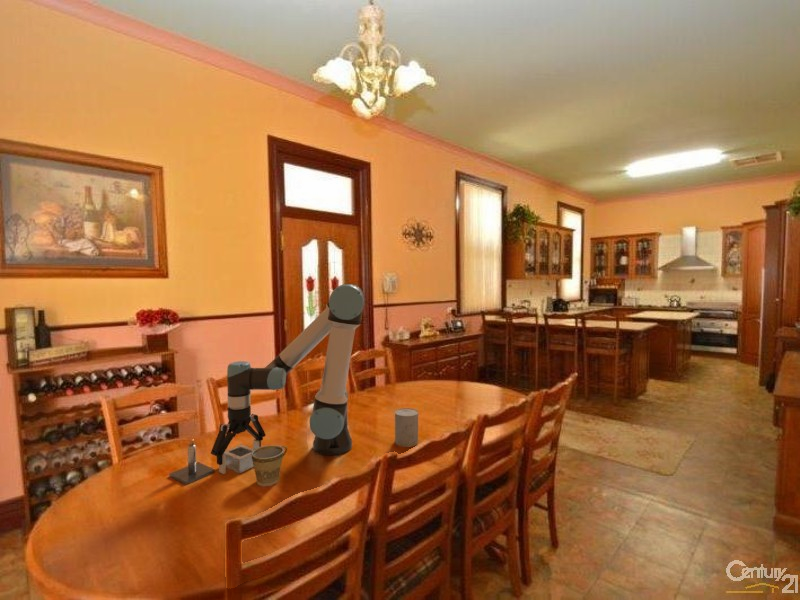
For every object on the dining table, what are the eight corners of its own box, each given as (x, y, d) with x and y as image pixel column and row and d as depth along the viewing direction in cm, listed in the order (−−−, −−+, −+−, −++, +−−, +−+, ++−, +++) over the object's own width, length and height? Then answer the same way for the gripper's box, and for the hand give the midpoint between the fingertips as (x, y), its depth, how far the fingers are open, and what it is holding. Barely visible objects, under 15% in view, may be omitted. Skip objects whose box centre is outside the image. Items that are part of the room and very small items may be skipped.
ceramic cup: (266, 492, 124) (265, 461, 123) (245, 483, 129) (244, 453, 128) (297, 475, 135) (297, 446, 134) (277, 467, 140) (276, 439, 139)
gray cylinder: (421, 439, 164) (422, 410, 164) (412, 448, 156) (412, 417, 155) (400, 435, 168) (400, 407, 168) (390, 444, 160) (390, 414, 159)
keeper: (214, 472, 137) (214, 437, 136) (185, 484, 128) (184, 448, 127) (198, 464, 142) (197, 431, 141) (169, 476, 134) (168, 441, 133)
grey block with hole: (259, 464, 142) (259, 450, 142) (239, 473, 136) (239, 459, 135) (241, 457, 148) (241, 444, 147) (222, 466, 141) (221, 452, 141)
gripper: (261, 395, 153) (262, 449, 154) (198, 414, 132) (200, 476, 133) (275, 399, 149) (275, 454, 150) (212, 418, 128) (213, 482, 129)
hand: (240, 465), depth 142 cm, fingers open, 13 cm apart
